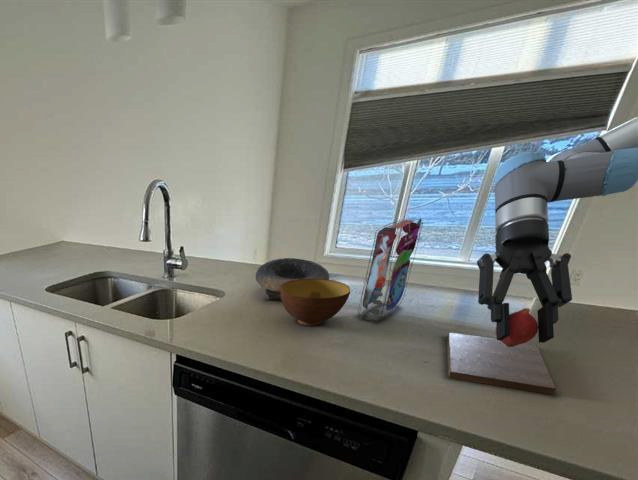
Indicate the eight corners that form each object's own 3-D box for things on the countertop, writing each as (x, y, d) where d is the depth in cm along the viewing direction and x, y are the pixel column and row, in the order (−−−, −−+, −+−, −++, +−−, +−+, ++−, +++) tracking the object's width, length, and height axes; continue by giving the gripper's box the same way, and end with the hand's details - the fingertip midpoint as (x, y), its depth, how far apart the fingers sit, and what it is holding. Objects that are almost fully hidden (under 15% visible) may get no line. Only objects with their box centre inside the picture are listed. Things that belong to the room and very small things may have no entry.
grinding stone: (239, 300, 139) (242, 272, 133) (277, 275, 151) (281, 249, 145) (303, 320, 125) (309, 290, 119) (339, 291, 138) (346, 263, 131)
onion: (490, 349, 79) (506, 310, 75) (488, 338, 83) (503, 301, 79) (530, 355, 76) (549, 315, 72) (526, 343, 80) (544, 304, 75)
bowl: (319, 307, 124) (325, 275, 119) (357, 328, 109) (365, 292, 104) (266, 315, 122) (269, 283, 117) (297, 337, 107) (302, 301, 102)
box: (390, 295, 128) (411, 213, 116) (412, 299, 124) (436, 214, 112) (355, 318, 115) (375, 228, 102) (379, 323, 110) (402, 230, 98)
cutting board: (552, 395, 76) (556, 388, 75) (448, 377, 84) (450, 371, 84) (533, 349, 92) (536, 343, 91) (446, 338, 100) (448, 332, 99)
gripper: (568, 239, 80) (574, 349, 75) (455, 240, 86) (454, 342, 81) (598, 215, 73) (607, 334, 68) (473, 218, 79) (473, 328, 74)
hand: (524, 338), depth 74 cm, fingers closed on onion, 6 cm apart
